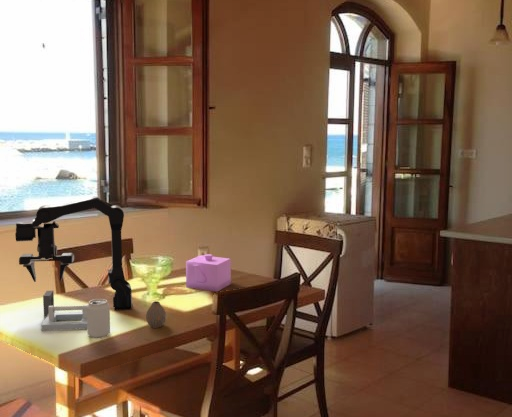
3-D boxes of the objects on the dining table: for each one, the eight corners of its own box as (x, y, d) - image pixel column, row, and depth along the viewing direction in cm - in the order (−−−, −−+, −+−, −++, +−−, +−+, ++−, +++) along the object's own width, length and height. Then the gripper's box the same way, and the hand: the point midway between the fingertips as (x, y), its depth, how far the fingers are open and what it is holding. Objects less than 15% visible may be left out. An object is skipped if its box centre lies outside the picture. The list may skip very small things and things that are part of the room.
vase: (157, 330, 210) (156, 306, 208) (142, 327, 213) (141, 303, 212) (170, 325, 215) (169, 301, 214) (155, 321, 219) (155, 298, 218)
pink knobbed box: (177, 291, 257) (177, 259, 255) (205, 277, 279) (205, 248, 277) (209, 296, 251) (209, 263, 249) (235, 281, 274) (235, 251, 271)
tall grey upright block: (54, 310, 230) (53, 290, 229) (50, 316, 223) (49, 295, 222) (47, 310, 229) (46, 290, 228) (43, 316, 223) (43, 296, 222)
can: (89, 331, 208) (88, 297, 206) (111, 331, 209) (111, 297, 207) (85, 339, 201) (84, 304, 199) (108, 338, 201) (107, 304, 200)
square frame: (93, 316, 223) (93, 299, 222) (89, 328, 211) (88, 310, 210) (49, 318, 221) (48, 300, 220) (41, 330, 208) (40, 312, 207)
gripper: (75, 235, 232) (77, 274, 234) (24, 236, 229) (26, 276, 231) (71, 241, 221) (72, 282, 223) (17, 242, 218) (19, 284, 220)
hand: (48, 281), depth 225 cm, fingers open, 9 cm apart
